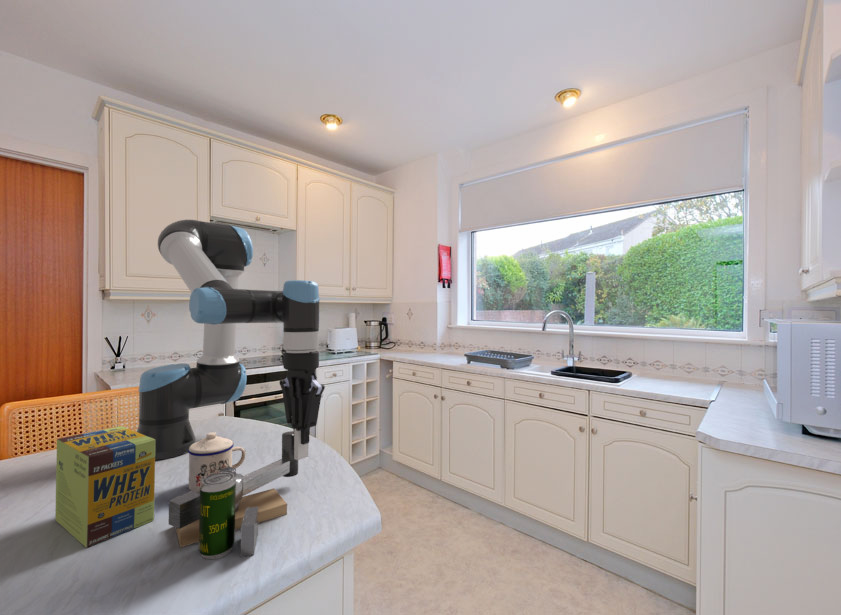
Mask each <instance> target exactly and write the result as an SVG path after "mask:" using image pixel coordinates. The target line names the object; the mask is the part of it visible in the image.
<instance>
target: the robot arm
mask: <svg viewBox="0 0 841 615" xmlns="http://www.w3.org/2000/svg"><path fill="white" fill-rule="evenodd" d="M253 246H254V245H253V241H252V239H251V236H250V235H249V233H248V232H247V231H246V230H245V229H244V228H242V227H239V226H233V225H229V224H222V223H216V222H208V221H202V220H196V219H181V220H180V219H179V220H176V221H174V222H172V223H170V224H168V225H167V226H166V227H164V228H163V230H162V231H161V232H160V234H159V236H158V238H157V248H158V252H159V253H160V255H161V257H162V258H163V259H164V261H166V262H167V264H171V265H172V266H173V267H174V269H175V270H176V272H177V273H178V275H179V276H180V278H181V280H182V281H183V282H184V284H185V285H186V287H187V288H188V290H189V292H190V295H189V303H188V305H189V306H188V307H189V312H190V318H191V319H192V321H194V322H195V323H196V324H201V325H202V324H203V339H202V341H203V343H202V344H203V345H202V355H201V356H200V357H198V358H197V360H196V367H191V366H190V364H188V363H175V364H173V363H172V364H166V365H165V364H164V365H160V366H157V367H156V366H155V367H152V368H150V369H146V370H145V371H144V372H142V374H141V375H140V377H139V387H138V392H139V393H138V394H139V396H138V398H139V399H138V402H139V403H138V427H137V430H136V432H138V433H140V434H143V435H145V436H147V437H150V438H153V439H155V461H157V460H164V459H169V458H175V457H178V456H181V455H182V456H183V455H185V454H186V453H188V450H189V447H190V446H191V445H192V444H194V443H196V436H195V433H194V430H193V428H192V424H191V422H190V416H189V415H190V410H191V409H196V408H197V409H198V408H202V407H210V406H215V405H225V404H228V403H231V402H232V403H233V402H235V401H237V400H239V399H240V398H241V397H242V395H244V392H245V389H246V386H247V378H248V377H247V373H246V372H247V370H246V367H245V366H244V364H242V363H240V358H238V356H237V355H236V354H235V353H236V352H235V351H236V332H237V331H236V328H237V324H270V323H271V324H273V323H274V324H276V323H277V324H278V323H279V324H283V331H282V333H283V334H282V335H283V337H282V349H283V350H284V351H285V352H284V353H282V354H283V361H282V362H283V365H282V367H283V369H284V370H286V371H287V372H286V378H284V379H280V380H279V386H280V389H281V391H282V398H283V405H284V410H285V419H286V423H287V424H290V425H291V428H293V429H292V430H293V436H294V437H293V439H294V459H296V460H298V461H300V460H303V459H305V458H307V457H309V443H310V429H311V428H313V427H316V426H317V424H318V419H319V411H320V406H321V400H322V399H321V398H322V394H323V393H324V391H325V389H326V388H325V384H323V383H321V384H320V383H319V382H318V381H317V380H318V377H317V374H316V370H317V369H318V368H319V365H320V353H319V351H318V349H319V347H320V343H319V342H320V341H319V340H320V337H319V333H320V332H319V331H320V329H319V328H320V300H321V298H320V293H319V284H318V282H316V281H313V280H299V279H298V280H297V279H295V280H292V279H291V280H286V281H285V282H284V284H283V287H282V288H283V289H282V290H263V289H262V290H261V289H260V290H259V289H241V288H239V277H240V276H241V275H242V274H244V272H245V267H248V266H249V265H250V264H251V263H252V259H253V257H254V256H253V255H254V247H253Z"/></svg>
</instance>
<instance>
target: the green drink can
mask: <svg viewBox="0 0 841 615" xmlns="http://www.w3.org/2000/svg"><path fill="white" fill-rule="evenodd" d="M234 477H235V475H234V474H232V473H228V472H221V473H215V474H212V475H209V476H207V477H205V478H204V479H203V480H202V484H201V486H200V506H199V542H198V553H199V554H200V556H201V557H202V558H203V559H205V560H215V559H219V558H222V557H224V556H227V555H228V554H229V553H231V551H232V550H233V548H234V546H235V542H236V530H235V505H236V480H235V478H234Z"/></svg>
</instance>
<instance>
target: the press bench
mask: <svg viewBox="0 0 841 615" xmlns="http://www.w3.org/2000/svg"><path fill="white" fill-rule="evenodd" d="M250 507H258V524H259V523H262V522H266V521H269V520H272V519H275V518H279V517H281V516H284V515H287V514H288V503H287V502H286V501H285V499H284V498H283V497H282V495H281V494H279V492H278V490H276V488H270V489H266V490H263V491H259V492H256V493H251V494H249V495H248V494H246V495H244V496H242V500H241V501H240V502H239V510H238V511H237V512H236V513H235V531H236V530H239V529H240V530H241V525H242V522H243V518H244V514H245V511H246V508H250ZM174 528H175V532H176V536H177V540H178V543H179V547H180V548H182V547H186V546H189V545H193V544H195V543H199V520H197V521H195V522H193V523H191V524H189V525H187V526H185V527H183V528H181V529H178V528H176V527H174Z"/></svg>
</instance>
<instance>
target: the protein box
mask: <svg viewBox="0 0 841 615" xmlns="http://www.w3.org/2000/svg"><path fill="white" fill-rule="evenodd" d="M55 463H56V464H55V465H56V469H55V470H56V471H55V517H54V518H55V521H56V523H58V524H59V525H60V526H61V527H62V528H64V529H65V530H66V531H67V532H68V533H69V534H70V535H71V536H73V538H75V539H76V540H77V541H78V542H79V543H80V544H81V545H83V546H84V547H85V548H86V549H87V548H89V547H92V546H95V545H96V544H98V543H101V542H102V543H103V541H106V540H107V541H108V540H110V539H111V538H114V537H116V536H119V535H121V534H124V533H126V532H128V531H132V530H135V529H136V528H139V527H141V526H143V525H146V524H148V523H149V524H150V523H151V522H154V520H155V487H156V480H155V479H156V477H155V476H156V472H155V471H156V460H155V439H153V438H150V437H147V436H145V435H143V434H140V433H138V432H137V431H135V430H132V429H130V428H128V427H126V426H122V425H121V426H116V427H112V428H111V427H110V428H105V429H101V430H95V431H90V432H85V433H79V434H76V435H70V436H69V435H68V436H65V437H59V438H57V439H56V462H55Z"/></svg>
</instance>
